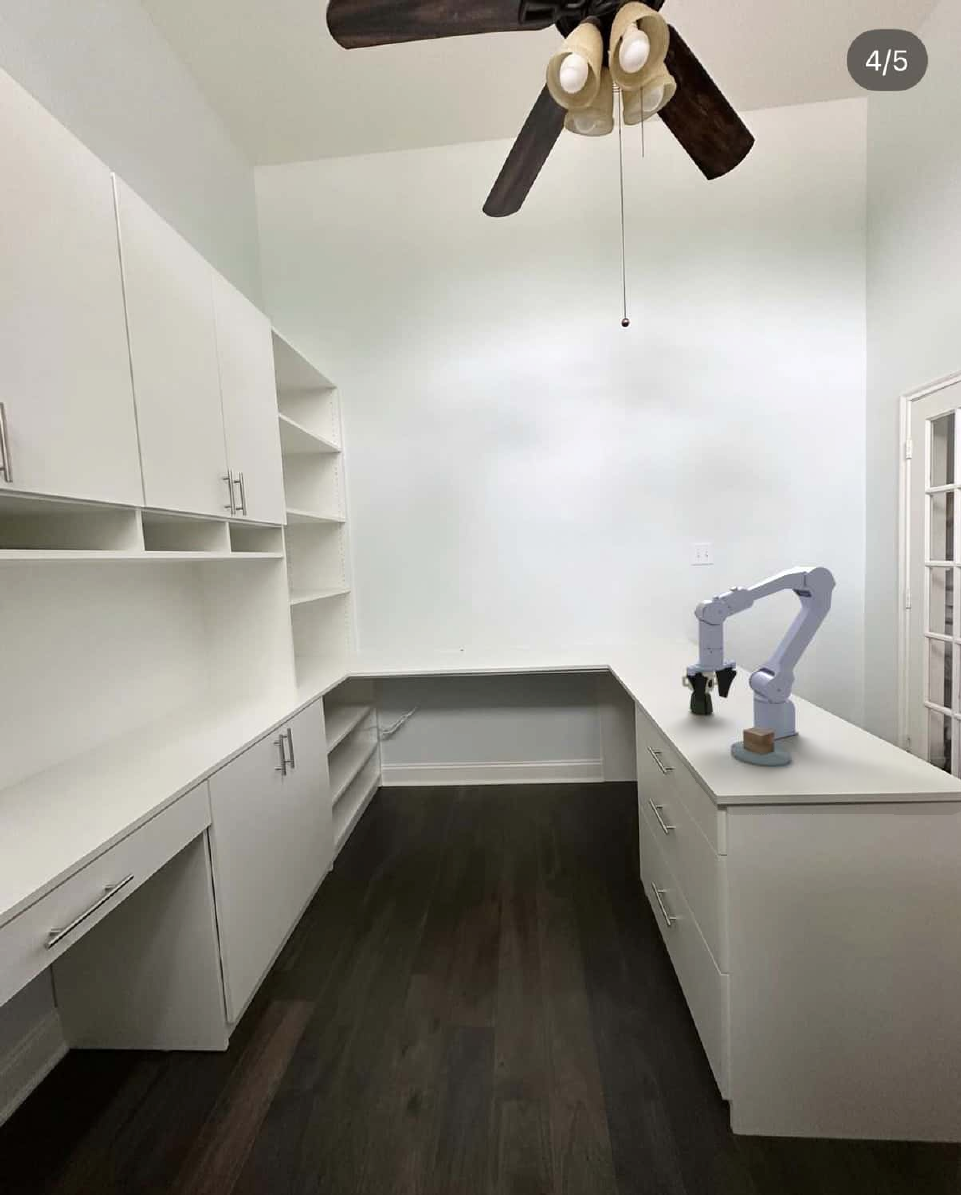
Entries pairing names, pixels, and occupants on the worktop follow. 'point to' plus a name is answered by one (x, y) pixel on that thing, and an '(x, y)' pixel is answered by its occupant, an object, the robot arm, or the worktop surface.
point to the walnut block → (758, 740)
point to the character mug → (707, 705)
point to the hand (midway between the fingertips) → (711, 699)
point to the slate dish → (770, 759)
